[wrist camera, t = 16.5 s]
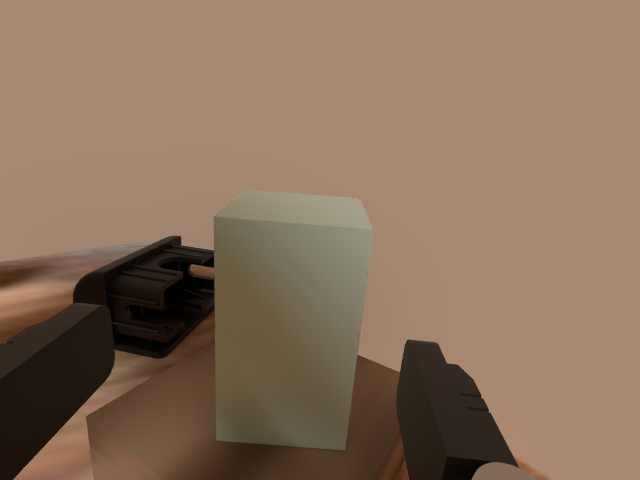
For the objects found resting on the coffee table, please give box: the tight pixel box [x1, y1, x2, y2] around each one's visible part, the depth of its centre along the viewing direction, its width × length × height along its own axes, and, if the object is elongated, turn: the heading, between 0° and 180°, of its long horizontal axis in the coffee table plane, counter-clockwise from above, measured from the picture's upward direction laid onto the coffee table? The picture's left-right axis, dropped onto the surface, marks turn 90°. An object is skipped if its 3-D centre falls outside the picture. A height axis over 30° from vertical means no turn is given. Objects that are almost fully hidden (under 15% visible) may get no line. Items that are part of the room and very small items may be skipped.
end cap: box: [73, 236, 215, 358], centre depth 31 cm, size 10×7×7 cm
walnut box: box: [86, 341, 405, 480], centre depth 19 cm, size 12×12×5 cm
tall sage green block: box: [214, 190, 373, 451], centre depth 17 cm, size 6×6×10 cm
